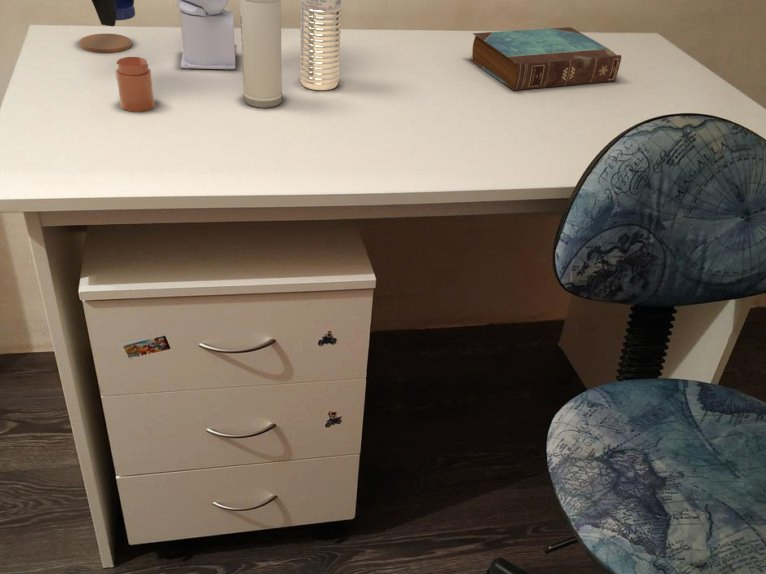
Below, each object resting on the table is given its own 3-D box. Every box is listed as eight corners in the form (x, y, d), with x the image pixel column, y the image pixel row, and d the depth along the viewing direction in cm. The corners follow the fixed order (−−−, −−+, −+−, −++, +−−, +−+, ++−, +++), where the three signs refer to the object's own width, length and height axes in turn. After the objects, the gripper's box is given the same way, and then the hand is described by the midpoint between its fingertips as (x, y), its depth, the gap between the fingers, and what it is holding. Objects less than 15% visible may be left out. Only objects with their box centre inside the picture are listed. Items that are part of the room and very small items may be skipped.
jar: (154, 99, 131) (149, 55, 126) (154, 111, 127) (149, 67, 122) (121, 99, 130) (115, 55, 125) (120, 112, 126) (113, 67, 121)
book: (514, 91, 146) (519, 63, 143) (468, 59, 158) (471, 32, 155) (615, 82, 154) (622, 55, 151) (564, 52, 166) (569, 26, 163)
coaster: (133, 37, 153) (133, 34, 152) (129, 53, 146) (128, 50, 146) (83, 36, 151) (83, 32, 151) (77, 52, 144) (76, 48, 144)
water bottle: (291, 82, 141) (291, -79, 125) (320, 74, 145) (323, -83, 129) (318, 94, 138) (321, -70, 122) (346, 86, 142) (353, -74, 126)
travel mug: (288, 97, 136) (288, -33, 123) (272, 111, 131) (269, -23, 118) (255, 90, 137) (251, -39, 124) (237, 103, 132) (231, -30, 119)
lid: (89, 16, 127) (88, 4, 126) (112, 7, 132) (110, -4, 131) (120, 22, 126) (118, 11, 125) (142, 14, 130) (141, 2, 129)
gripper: (105, -63, 115) (119, 36, 123) (149, -82, 125) (159, 11, 134) (60, -70, 115) (76, 29, 124) (107, -87, 126) (120, 5, 135)
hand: (117, 19), depth 129 cm, fingers closed on lid, 5 cm apart
